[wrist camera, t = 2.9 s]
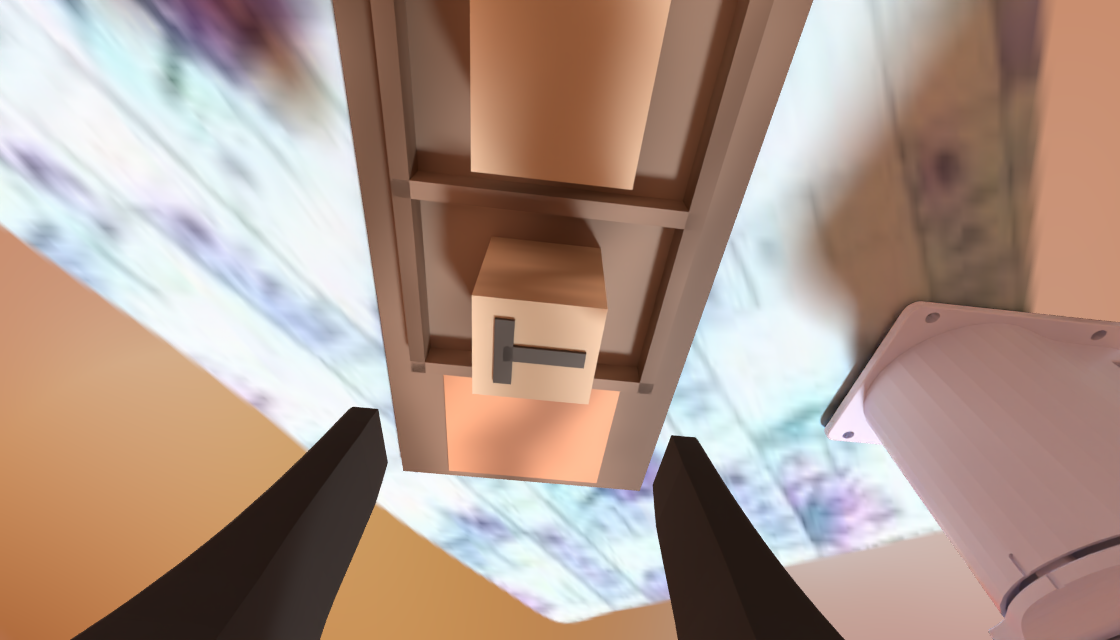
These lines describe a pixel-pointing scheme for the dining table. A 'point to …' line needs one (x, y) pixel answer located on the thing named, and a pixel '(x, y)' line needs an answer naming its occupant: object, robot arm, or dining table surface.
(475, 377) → the letter cube
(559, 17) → the blank cube
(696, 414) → the dining table surface
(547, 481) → the organiser
